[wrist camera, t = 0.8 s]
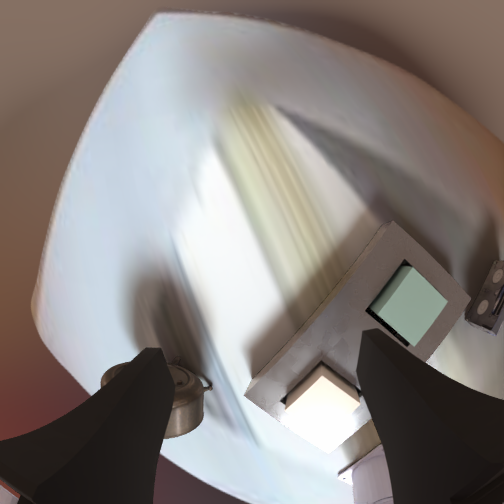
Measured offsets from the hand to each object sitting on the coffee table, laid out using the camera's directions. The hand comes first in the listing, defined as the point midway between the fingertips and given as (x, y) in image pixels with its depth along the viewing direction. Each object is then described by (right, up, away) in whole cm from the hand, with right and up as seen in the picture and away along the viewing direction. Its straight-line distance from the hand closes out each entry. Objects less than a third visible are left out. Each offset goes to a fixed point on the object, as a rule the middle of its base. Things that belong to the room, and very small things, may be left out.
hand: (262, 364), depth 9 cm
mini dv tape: (+27, -1, +14) cm, 31 cm away
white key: (+7, -10, +16) cm, 20 cm away
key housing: (+11, -6, +17) cm, 21 cm away
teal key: (+14, -1, +15) cm, 21 cm away
